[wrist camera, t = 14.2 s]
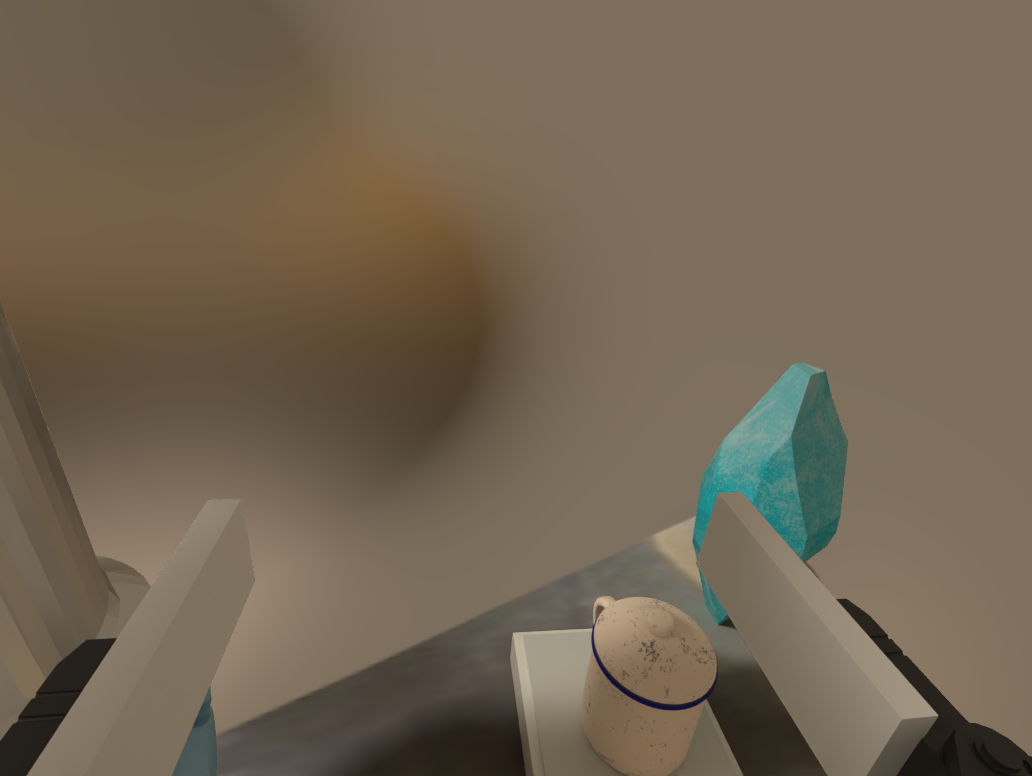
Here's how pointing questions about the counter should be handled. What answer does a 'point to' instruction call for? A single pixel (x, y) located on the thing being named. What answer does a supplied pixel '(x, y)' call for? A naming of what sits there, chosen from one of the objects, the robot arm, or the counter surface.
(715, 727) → the plinth
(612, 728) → the teacup with lid
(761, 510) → the crystal
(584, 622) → the counter surface
